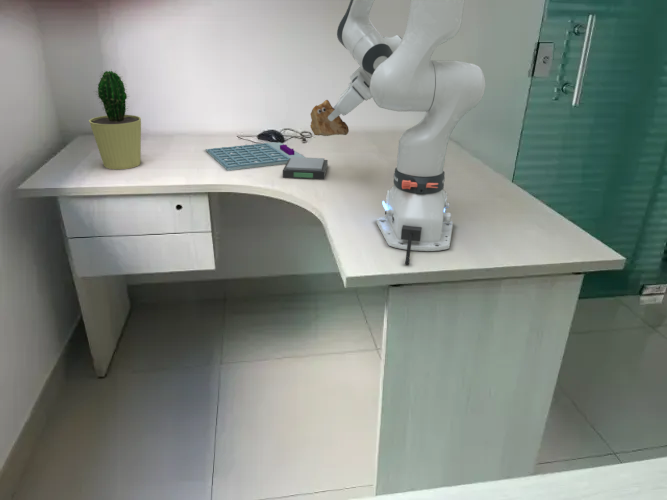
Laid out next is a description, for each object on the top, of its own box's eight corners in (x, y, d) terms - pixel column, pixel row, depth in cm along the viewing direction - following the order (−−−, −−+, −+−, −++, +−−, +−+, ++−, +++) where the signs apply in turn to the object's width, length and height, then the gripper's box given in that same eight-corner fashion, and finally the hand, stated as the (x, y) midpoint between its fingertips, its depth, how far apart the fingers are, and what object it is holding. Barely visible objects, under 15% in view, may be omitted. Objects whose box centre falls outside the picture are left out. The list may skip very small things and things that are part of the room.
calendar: (205, 150, 191) (204, 144, 190) (278, 143, 203) (278, 136, 202) (227, 171, 169) (226, 163, 168) (307, 161, 181) (307, 154, 180)
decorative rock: (316, 137, 155) (313, 100, 153) (307, 137, 161) (304, 101, 158) (351, 134, 160) (349, 98, 158) (342, 134, 166) (339, 99, 163)
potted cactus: (94, 161, 175) (78, 66, 163) (142, 156, 182) (130, 65, 169) (99, 173, 163) (81, 72, 150) (150, 168, 170) (137, 71, 157)
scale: (324, 179, 163) (324, 169, 161) (282, 178, 163) (282, 168, 162) (327, 166, 176) (327, 157, 174) (289, 165, 176) (289, 155, 175)
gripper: (357, 71, 163) (325, 102, 168) (355, 80, 145) (319, 115, 149) (371, 87, 165) (339, 117, 169) (370, 98, 146) (335, 131, 151)
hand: (330, 116), depth 159 cm, fingers closed on decorative rock, 7 cm apart
